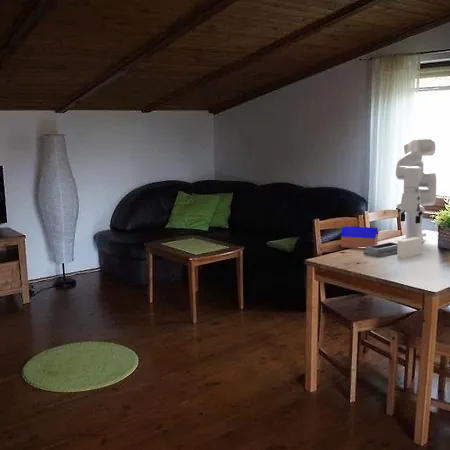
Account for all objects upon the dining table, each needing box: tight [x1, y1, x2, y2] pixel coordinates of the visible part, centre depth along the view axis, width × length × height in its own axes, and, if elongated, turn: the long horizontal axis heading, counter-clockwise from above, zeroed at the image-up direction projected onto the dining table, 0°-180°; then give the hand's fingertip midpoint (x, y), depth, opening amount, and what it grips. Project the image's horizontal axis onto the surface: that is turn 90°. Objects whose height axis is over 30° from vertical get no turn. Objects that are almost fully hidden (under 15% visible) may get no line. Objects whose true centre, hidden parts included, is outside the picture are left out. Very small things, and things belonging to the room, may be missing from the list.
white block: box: [396, 237, 423, 259], centre depth 296 cm, size 15×4×9 cm, turn 124°
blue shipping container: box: [340, 225, 379, 249], centre depth 322 cm, size 12×20×12 cm, turn 66°
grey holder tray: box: [363, 241, 398, 258], centre depth 304 cm, size 20×12×4 cm, turn 124°
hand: (410, 222), depth 293 cm, fingers open, 9 cm apart
